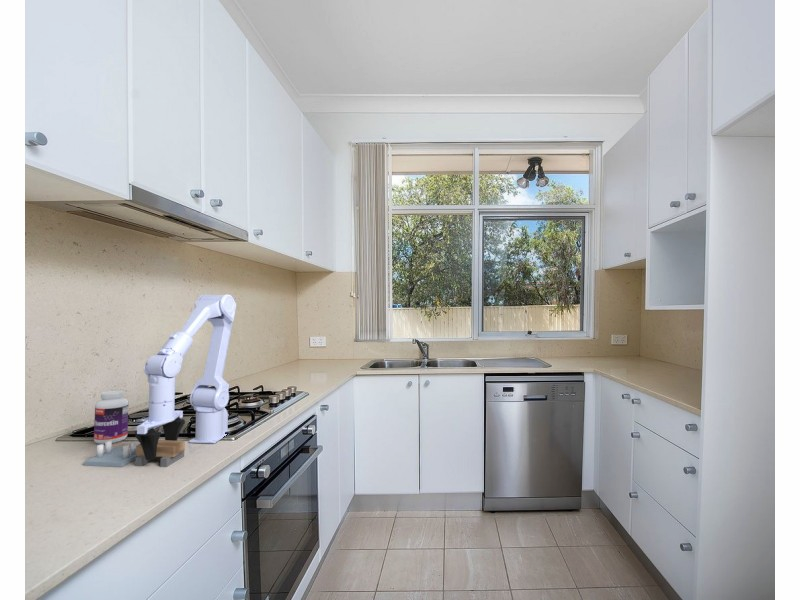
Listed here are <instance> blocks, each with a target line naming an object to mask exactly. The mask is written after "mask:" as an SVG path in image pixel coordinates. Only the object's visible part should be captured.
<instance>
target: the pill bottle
mask: <svg viewBox="0 0 800 600" xmlns="http://www.w3.org/2000/svg"><path fill="white" fill-rule="evenodd" d="M124 396H125V390H119V389H117V390H108V391H107V390H106V391H103V392H101V393H100V399H101V400H98V401H97V402H96V404H95V406H94V425H93V427H94V428H93V430H94V431H93V442H94V443H96V444H97V445H99V444H104V445H105V442H106V441H112V444H115V443H119V442H122V441H123V440H125V439H126V438H127V437H128V432H129V429H128V428H129V426H128V425H129V400H128V399H127V398H124Z"/></svg>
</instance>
